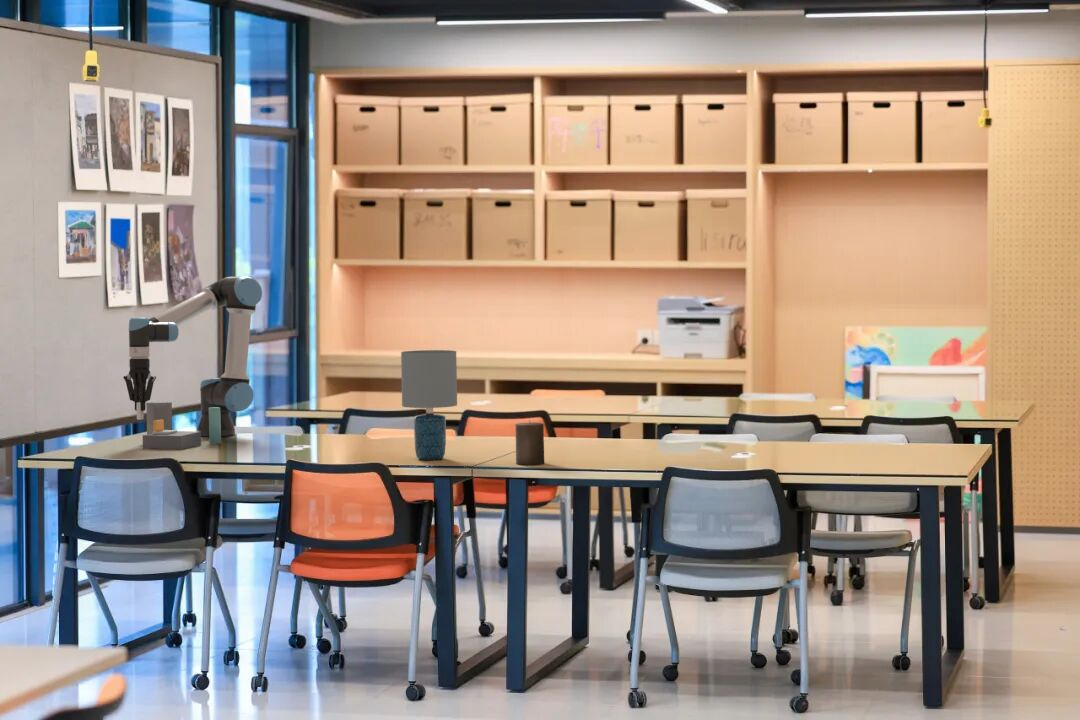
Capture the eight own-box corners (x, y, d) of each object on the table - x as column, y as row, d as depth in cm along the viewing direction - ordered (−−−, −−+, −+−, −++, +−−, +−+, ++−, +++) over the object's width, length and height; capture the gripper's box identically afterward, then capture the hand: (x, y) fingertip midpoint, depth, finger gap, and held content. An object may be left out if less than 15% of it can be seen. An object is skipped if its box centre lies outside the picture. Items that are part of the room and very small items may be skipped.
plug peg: (212, 442, 617) (212, 407, 616) (223, 443, 616) (222, 407, 615) (207, 444, 613) (206, 408, 612) (217, 444, 612) (217, 408, 611)
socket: (163, 443, 616) (163, 431, 616) (201, 444, 612) (200, 431, 611) (142, 448, 601) (142, 435, 600) (180, 449, 596) (180, 436, 596)
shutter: (161, 431, 611) (161, 419, 611) (177, 432, 609) (176, 419, 609) (152, 433, 604) (152, 421, 604) (167, 434, 602) (167, 421, 602)
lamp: (413, 463, 543) (411, 353, 541) (395, 457, 561) (393, 351, 559) (465, 460, 551) (464, 351, 549) (446, 454, 568) (445, 349, 566)
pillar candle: (548, 464, 537) (548, 420, 536) (521, 465, 533) (520, 421, 533) (538, 461, 546) (537, 418, 545) (511, 463, 542) (511, 419, 542)
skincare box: (154, 443, 618) (153, 403, 617) (145, 442, 623) (144, 402, 622) (174, 441, 623) (173, 401, 622) (165, 440, 628) (164, 400, 628)
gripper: (119, 358, 606) (120, 419, 607) (149, 358, 602) (150, 420, 603) (129, 357, 613) (130, 418, 614) (159, 357, 609) (160, 418, 611)
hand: (140, 419), depth 609 cm, fingers closed
